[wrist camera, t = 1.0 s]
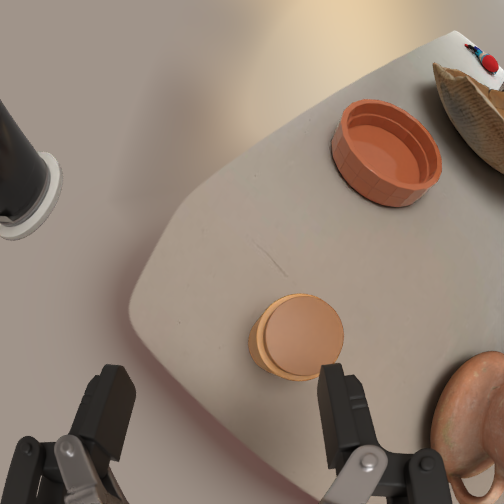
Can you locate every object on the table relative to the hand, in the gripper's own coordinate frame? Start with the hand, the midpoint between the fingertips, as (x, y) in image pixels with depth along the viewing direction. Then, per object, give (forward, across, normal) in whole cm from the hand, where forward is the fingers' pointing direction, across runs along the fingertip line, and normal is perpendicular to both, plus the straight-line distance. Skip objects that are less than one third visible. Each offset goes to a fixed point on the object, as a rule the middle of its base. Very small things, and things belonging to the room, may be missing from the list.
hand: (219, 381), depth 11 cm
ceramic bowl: (+36, -42, -5) cm, 55 cm away
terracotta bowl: (+27, -17, -2) cm, 32 cm away
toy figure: (+65, -68, -27) cm, 98 cm away
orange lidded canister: (+11, -3, +10) cm, 15 cm away
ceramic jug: (+4, -24, +20) cm, 31 cm away
